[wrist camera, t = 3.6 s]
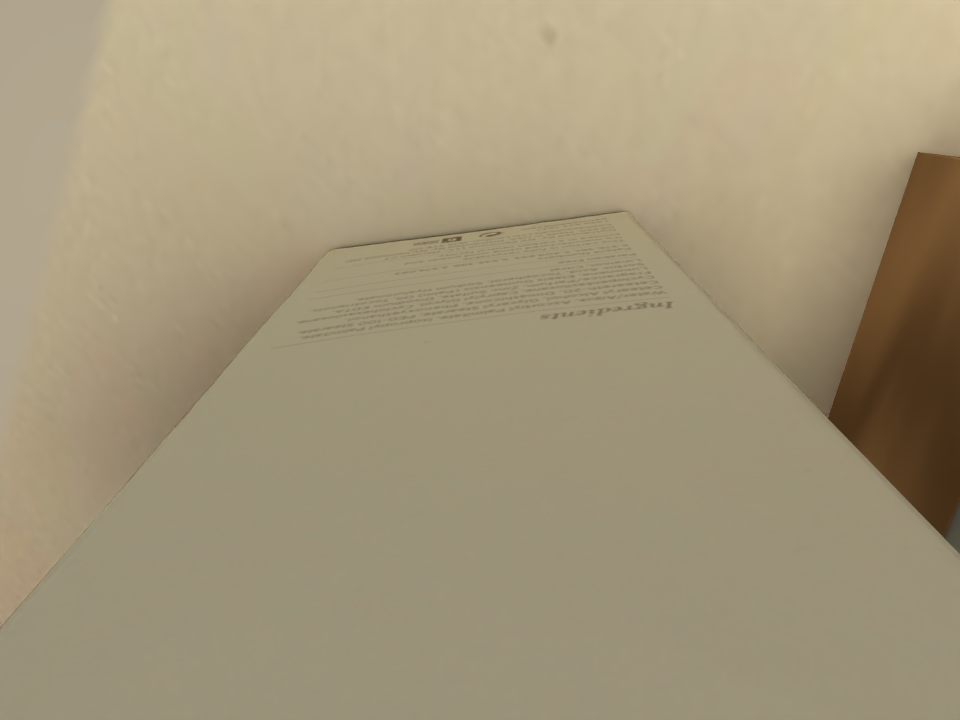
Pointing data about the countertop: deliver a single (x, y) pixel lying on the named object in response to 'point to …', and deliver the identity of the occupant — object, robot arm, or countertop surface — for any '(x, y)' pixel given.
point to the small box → (497, 517)
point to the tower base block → (912, 350)
